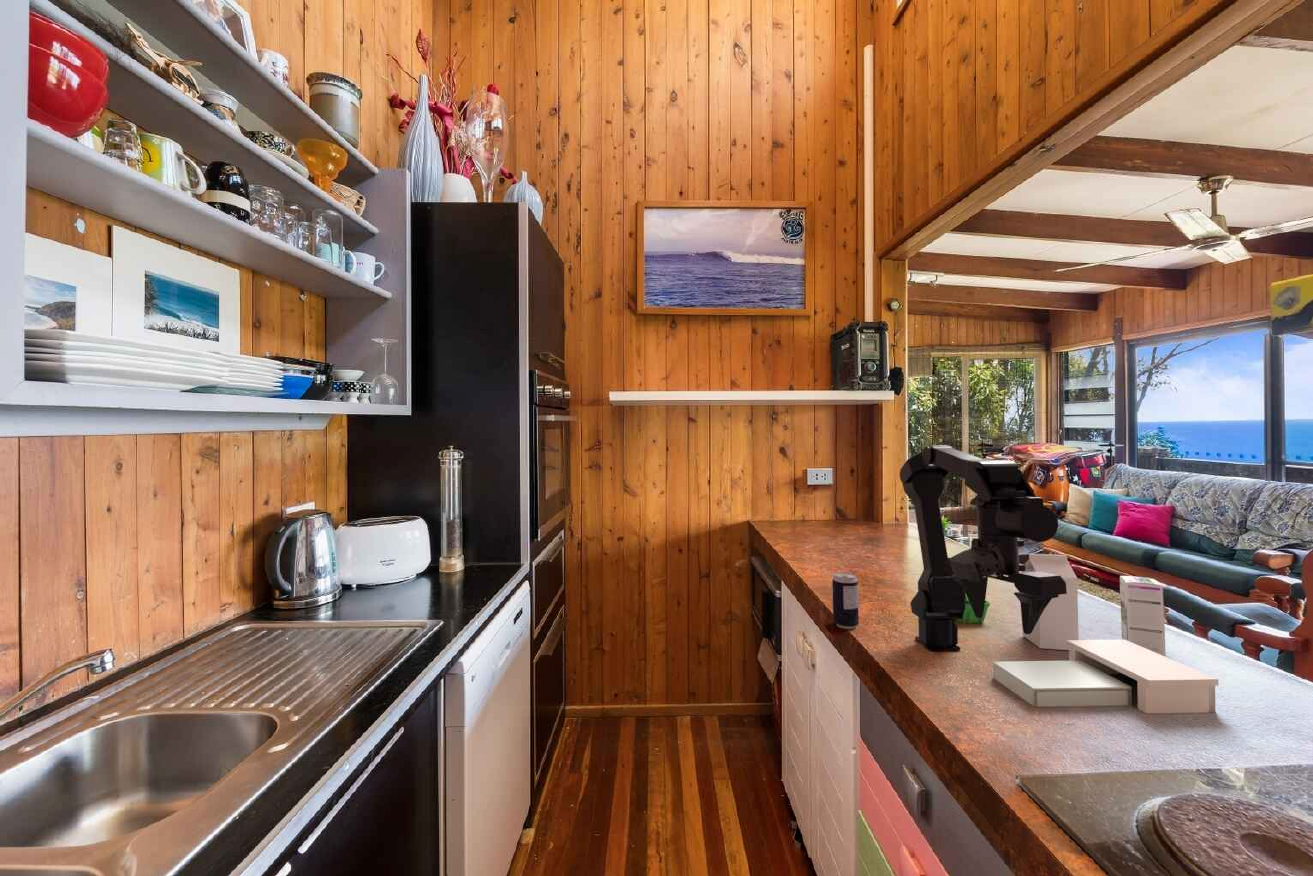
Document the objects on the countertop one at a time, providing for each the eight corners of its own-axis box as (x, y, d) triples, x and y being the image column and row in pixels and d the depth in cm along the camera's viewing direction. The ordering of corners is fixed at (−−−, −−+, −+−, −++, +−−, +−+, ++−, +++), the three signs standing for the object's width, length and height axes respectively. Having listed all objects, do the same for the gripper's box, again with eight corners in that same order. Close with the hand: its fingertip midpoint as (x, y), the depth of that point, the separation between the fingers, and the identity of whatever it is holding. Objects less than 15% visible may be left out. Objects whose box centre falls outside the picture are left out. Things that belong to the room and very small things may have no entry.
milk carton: (1078, 651, 104) (1077, 558, 104) (1039, 649, 105) (1038, 557, 105) (1058, 638, 111) (1057, 551, 111) (1022, 636, 112) (1020, 550, 112)
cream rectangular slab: (1034, 706, 83) (1033, 688, 83) (993, 678, 93) (993, 661, 93) (1131, 705, 83) (1131, 687, 83) (1080, 676, 93) (1080, 660, 93)
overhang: (1149, 715, 80) (1148, 680, 80) (1067, 669, 96) (1066, 640, 96) (1219, 714, 80) (1218, 679, 80) (1125, 668, 96) (1124, 639, 96)
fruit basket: (992, 625, 119) (991, 577, 119) (954, 625, 119) (954, 577, 119) (963, 608, 130) (963, 565, 131) (929, 609, 131) (928, 565, 131)
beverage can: (858, 622, 122) (857, 572, 122) (859, 631, 116) (858, 579, 116) (833, 620, 123) (832, 571, 124) (833, 628, 118) (832, 577, 118)
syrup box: (1166, 658, 100) (1165, 585, 100) (1126, 652, 103) (1125, 581, 103) (1157, 648, 105) (1156, 578, 105) (1119, 642, 108) (1118, 574, 108)
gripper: (918, 529, 95) (921, 614, 94) (1009, 543, 77) (1014, 649, 76) (967, 526, 97) (971, 609, 96) (1066, 540, 79) (1072, 641, 78)
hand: (1002, 625), depth 87 cm, fingers open, 9 cm apart
